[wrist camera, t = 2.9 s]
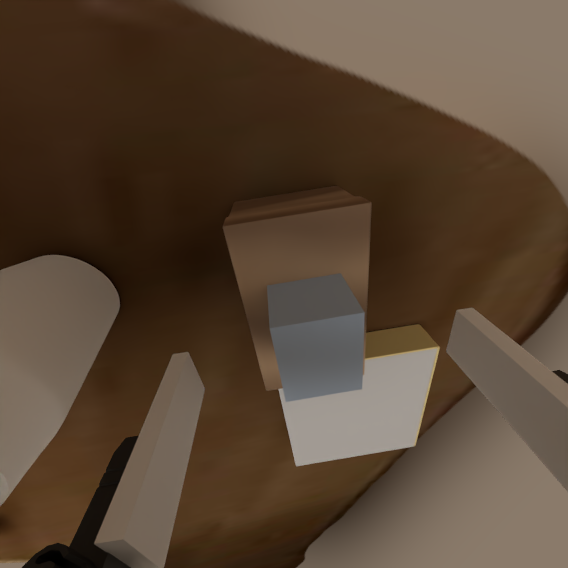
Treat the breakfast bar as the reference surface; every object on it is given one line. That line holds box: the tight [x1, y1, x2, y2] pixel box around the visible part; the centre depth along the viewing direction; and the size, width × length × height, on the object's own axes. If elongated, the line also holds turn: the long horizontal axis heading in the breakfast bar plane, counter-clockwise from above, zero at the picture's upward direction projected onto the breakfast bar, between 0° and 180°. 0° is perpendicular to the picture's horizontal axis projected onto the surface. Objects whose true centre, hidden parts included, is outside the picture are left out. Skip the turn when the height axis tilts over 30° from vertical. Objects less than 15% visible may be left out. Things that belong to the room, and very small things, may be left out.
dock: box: [279, 324, 440, 466], centre depth 27 cm, size 16×14×3 cm
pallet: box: [222, 185, 371, 391], centre depth 17 cm, size 12×7×6 cm, turn 8°
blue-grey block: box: [267, 273, 365, 402], centre depth 13 cm, size 5×4×4 cm
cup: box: [0, 255, 120, 505], centre depth 14 cm, size 9×9×12 cm
